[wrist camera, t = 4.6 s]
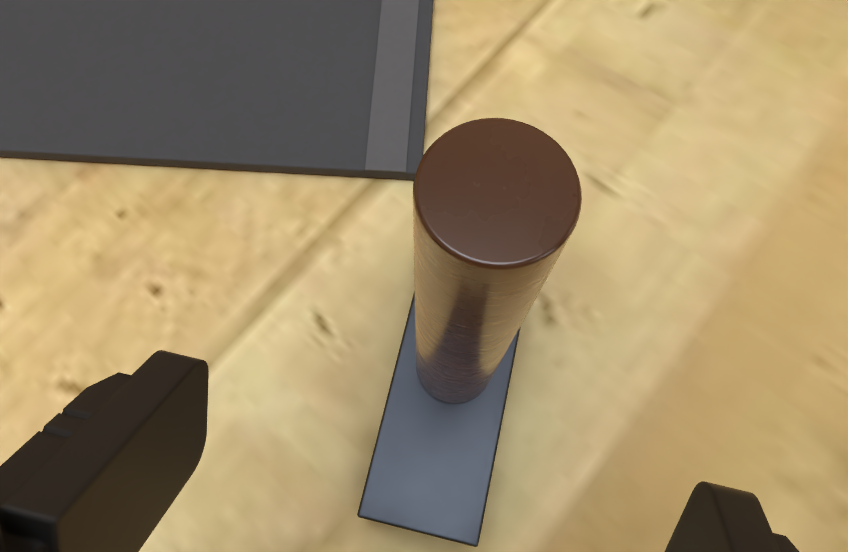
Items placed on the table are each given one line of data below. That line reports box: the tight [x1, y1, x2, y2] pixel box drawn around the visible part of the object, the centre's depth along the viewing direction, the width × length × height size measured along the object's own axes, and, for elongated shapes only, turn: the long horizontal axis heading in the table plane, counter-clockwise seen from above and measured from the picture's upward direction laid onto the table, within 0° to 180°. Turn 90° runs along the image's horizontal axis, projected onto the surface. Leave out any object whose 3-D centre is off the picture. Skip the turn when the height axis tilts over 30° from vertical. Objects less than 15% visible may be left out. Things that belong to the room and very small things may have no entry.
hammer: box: [357, 118, 582, 547], centre depth 16 cm, size 10×4×15 cm, turn 167°
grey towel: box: [0, 0, 433, 180], centre depth 29 cm, size 20×16×1 cm
